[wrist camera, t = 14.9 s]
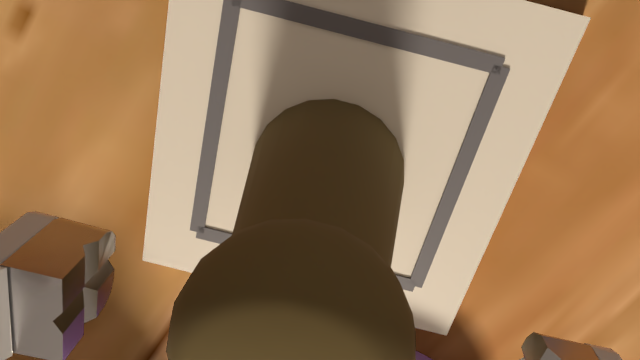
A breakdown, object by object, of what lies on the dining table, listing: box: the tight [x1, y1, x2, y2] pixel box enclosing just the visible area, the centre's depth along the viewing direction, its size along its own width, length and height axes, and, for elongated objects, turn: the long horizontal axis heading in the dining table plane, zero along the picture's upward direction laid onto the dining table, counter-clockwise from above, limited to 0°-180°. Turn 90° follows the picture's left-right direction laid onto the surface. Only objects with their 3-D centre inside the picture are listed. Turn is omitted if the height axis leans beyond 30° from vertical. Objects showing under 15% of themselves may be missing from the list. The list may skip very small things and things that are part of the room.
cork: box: [166, 99, 416, 360], centre depth 14 cm, size 6×6×11 cm
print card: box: [143, 0, 591, 336], centre depth 19 cm, size 14×14×1 cm
